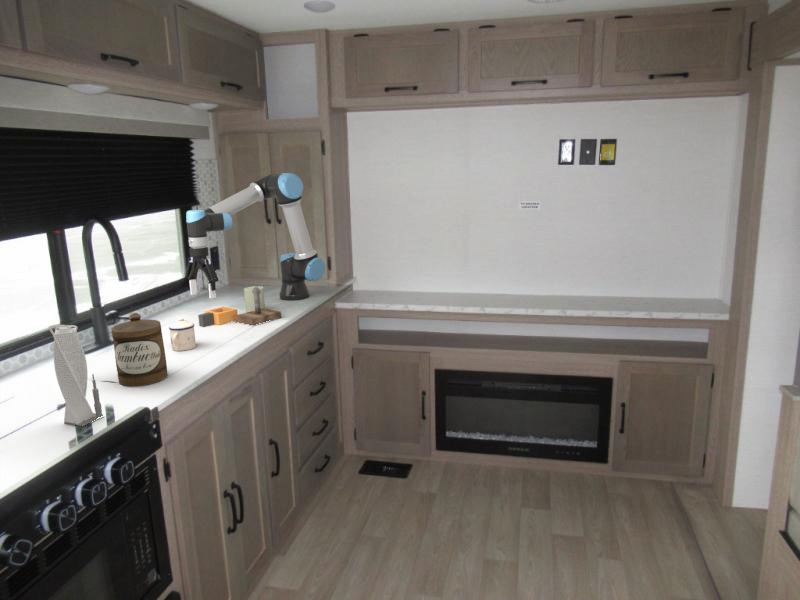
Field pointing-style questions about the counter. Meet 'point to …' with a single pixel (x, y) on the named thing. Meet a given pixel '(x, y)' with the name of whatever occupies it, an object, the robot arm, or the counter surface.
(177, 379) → the counter surface
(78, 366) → the skyscraper
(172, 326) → the teacup with lid
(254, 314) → the keeper base
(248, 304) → the pale green upright block
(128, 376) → the wooden container
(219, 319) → the orange gray open box
